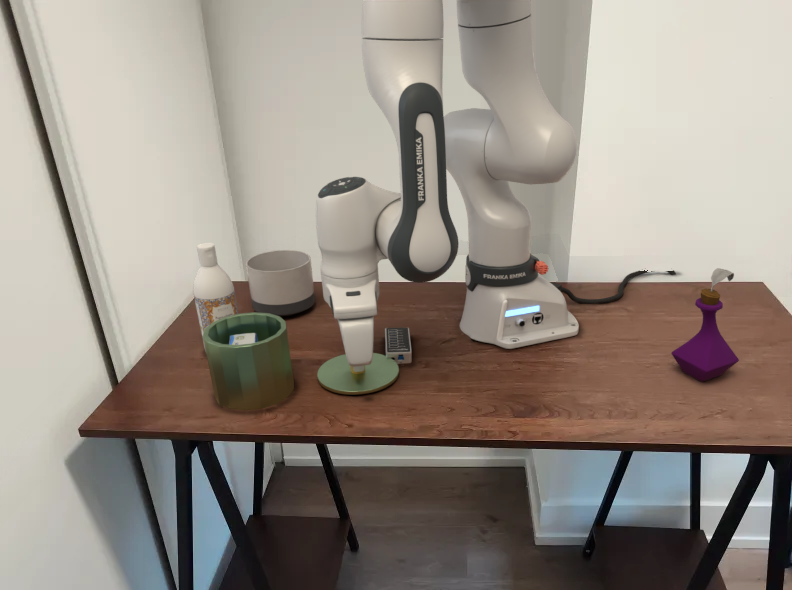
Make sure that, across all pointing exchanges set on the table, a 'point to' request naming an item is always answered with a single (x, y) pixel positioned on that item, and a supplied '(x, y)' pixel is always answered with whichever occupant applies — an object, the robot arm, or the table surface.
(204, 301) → the bath foam
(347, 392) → the tin lid
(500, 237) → the robot arm
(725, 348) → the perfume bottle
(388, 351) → the multiport hub
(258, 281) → the planter
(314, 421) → the table surface
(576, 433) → the table surface
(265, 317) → the tin
